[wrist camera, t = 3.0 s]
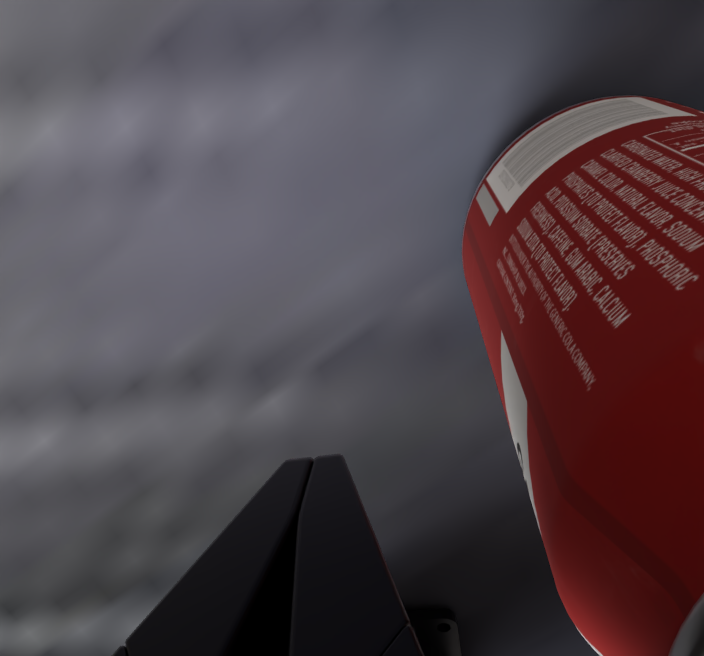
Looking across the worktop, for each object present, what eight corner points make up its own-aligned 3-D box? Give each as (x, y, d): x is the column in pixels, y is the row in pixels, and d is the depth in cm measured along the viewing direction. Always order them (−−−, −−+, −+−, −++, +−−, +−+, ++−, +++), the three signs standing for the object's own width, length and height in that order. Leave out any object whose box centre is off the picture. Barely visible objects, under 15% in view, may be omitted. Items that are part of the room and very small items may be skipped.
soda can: (432, 139, 15) (546, 464, 4) (727, 51, 13) (1991, 186, 3) (486, 368, 18) (634, 907, 7) (732, 312, 16) (1371, 864, 6)
